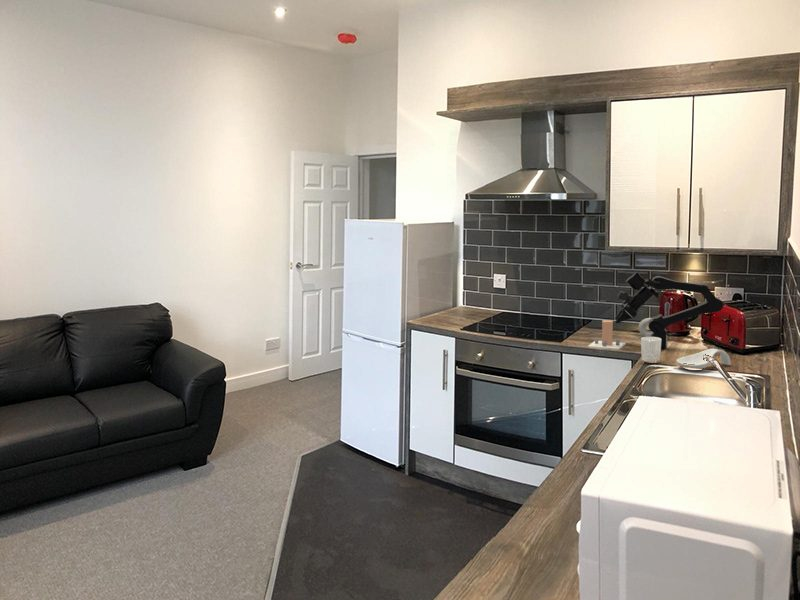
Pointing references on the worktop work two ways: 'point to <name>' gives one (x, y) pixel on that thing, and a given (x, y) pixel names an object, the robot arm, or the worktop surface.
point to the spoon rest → (699, 361)
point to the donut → (643, 328)
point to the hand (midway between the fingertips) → (615, 320)
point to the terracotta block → (607, 331)
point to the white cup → (650, 348)
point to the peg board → (598, 344)
